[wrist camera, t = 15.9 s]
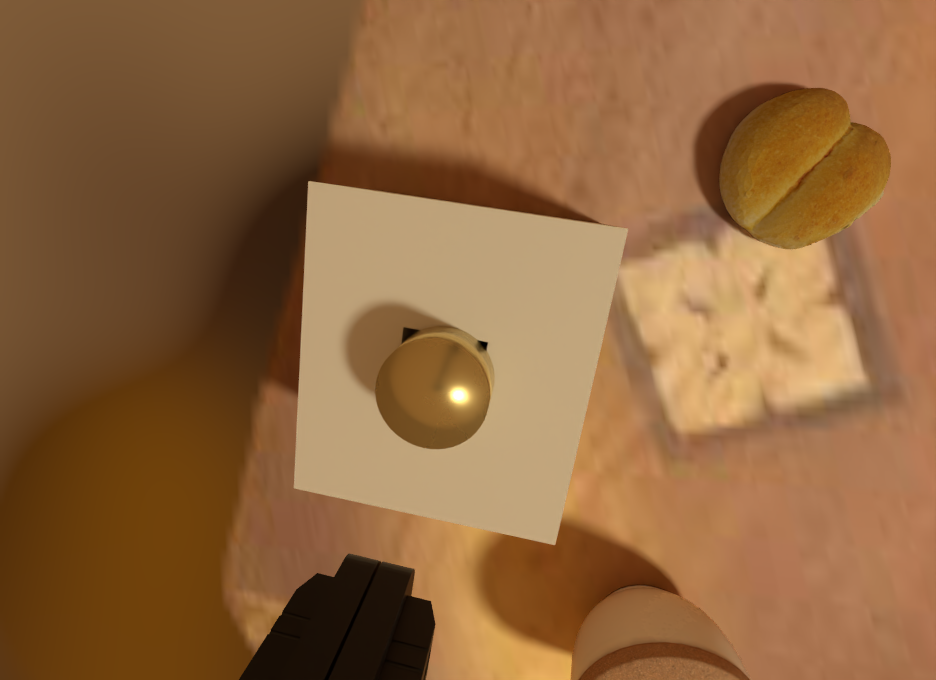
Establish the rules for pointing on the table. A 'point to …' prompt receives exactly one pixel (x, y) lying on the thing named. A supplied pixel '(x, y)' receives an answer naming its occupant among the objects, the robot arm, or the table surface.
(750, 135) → the bread roll
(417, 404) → the brass-head pin
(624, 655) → the lidded bowl
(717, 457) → the table surface
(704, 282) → the table surface
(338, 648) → the robot arm
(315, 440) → the pin block
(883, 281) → the table surface
